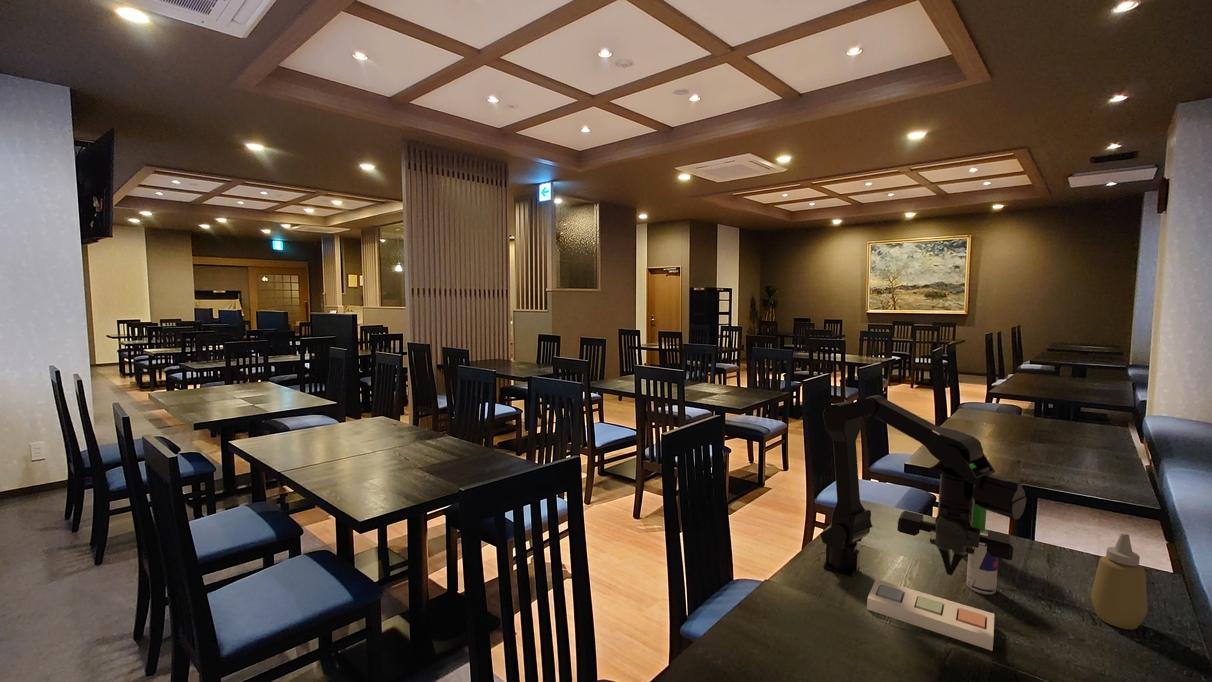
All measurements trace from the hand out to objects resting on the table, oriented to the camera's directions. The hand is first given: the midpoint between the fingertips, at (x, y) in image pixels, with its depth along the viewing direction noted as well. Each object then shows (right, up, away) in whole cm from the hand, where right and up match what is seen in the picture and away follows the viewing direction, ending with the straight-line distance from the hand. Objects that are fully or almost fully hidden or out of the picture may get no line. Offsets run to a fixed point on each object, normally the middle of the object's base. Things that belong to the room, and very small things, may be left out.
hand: (949, 574), depth 105 cm
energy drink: (+15, -8, +12) cm, 20 cm away
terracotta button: (+2, -9, -3) cm, 10 cm away
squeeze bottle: (+33, -10, 0) cm, 35 cm away
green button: (-3, -8, +1) cm, 9 cm away
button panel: (-3, -9, +1) cm, 10 cm away
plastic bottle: (+23, -7, +29) cm, 38 cm away
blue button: (-9, -8, +5) cm, 13 cm away
